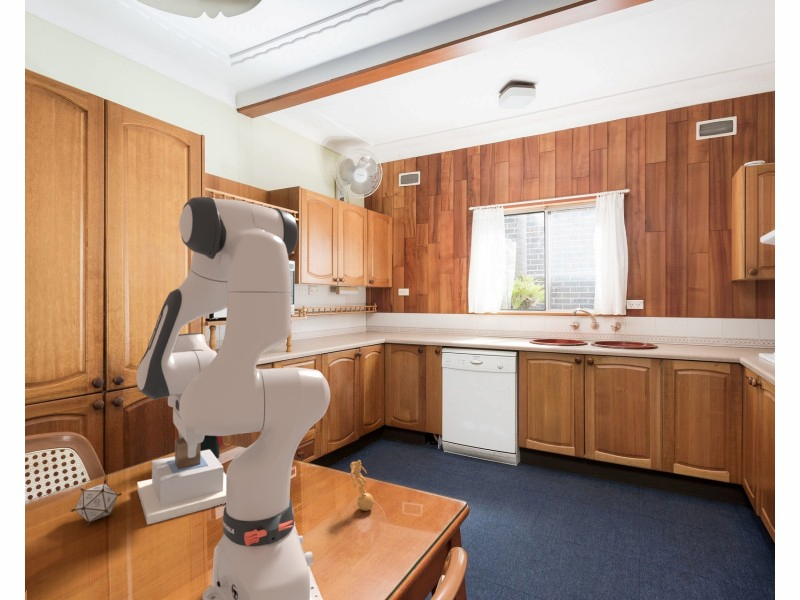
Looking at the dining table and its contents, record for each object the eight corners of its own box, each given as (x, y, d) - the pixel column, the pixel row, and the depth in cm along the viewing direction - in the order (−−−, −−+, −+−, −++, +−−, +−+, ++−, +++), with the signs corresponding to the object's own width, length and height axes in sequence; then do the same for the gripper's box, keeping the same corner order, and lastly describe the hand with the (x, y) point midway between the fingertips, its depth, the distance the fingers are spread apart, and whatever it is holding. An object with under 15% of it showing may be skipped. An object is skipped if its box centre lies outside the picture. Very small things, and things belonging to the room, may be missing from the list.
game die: (99, 530, 101) (116, 484, 107) (117, 528, 97) (134, 480, 102) (56, 525, 95) (77, 477, 101) (73, 522, 91) (94, 472, 96)
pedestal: (238, 499, 109) (239, 467, 109) (147, 524, 97) (147, 488, 97) (218, 471, 125) (218, 443, 125) (137, 489, 113) (137, 458, 113)
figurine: (368, 519, 101) (369, 469, 101) (343, 516, 102) (344, 466, 102) (377, 502, 109) (378, 455, 109) (355, 499, 111) (356, 452, 110)
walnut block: (200, 464, 110) (200, 440, 110) (178, 468, 107) (178, 444, 107) (196, 457, 114) (196, 435, 114) (174, 462, 111) (174, 438, 111)
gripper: (166, 389, 116) (166, 440, 117) (181, 408, 100) (181, 467, 101) (192, 386, 120) (192, 436, 121) (210, 404, 104) (210, 461, 104)
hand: (187, 450), depth 110 cm, fingers open, 8 cm apart
